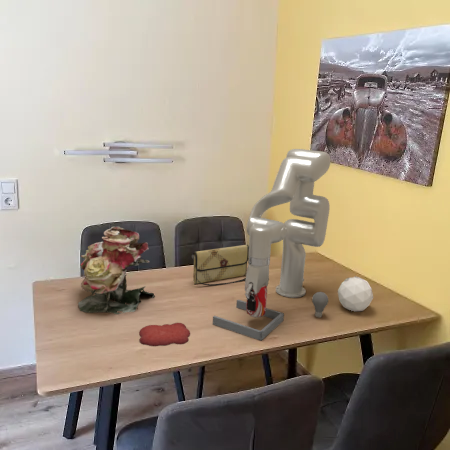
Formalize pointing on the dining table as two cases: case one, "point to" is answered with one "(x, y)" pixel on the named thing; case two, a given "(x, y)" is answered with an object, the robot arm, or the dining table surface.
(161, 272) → the dining table surface
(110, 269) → the rose bouquet
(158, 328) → the patty
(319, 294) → the light bulb
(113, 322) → the dining table surface
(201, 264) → the clutch purse
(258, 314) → the soda can
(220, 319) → the grey u-shaped frame
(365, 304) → the geodesic sphere
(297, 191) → the robot arm
